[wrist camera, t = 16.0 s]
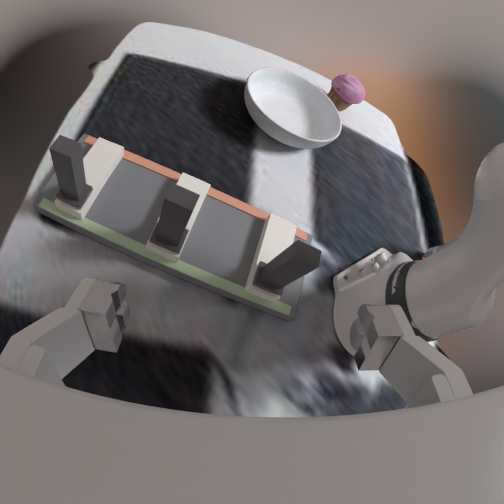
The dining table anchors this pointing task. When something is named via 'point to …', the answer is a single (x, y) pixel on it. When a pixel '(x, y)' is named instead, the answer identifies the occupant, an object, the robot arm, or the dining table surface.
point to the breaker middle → (174, 218)
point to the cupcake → (346, 91)
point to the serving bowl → (291, 108)
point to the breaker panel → (205, 240)
